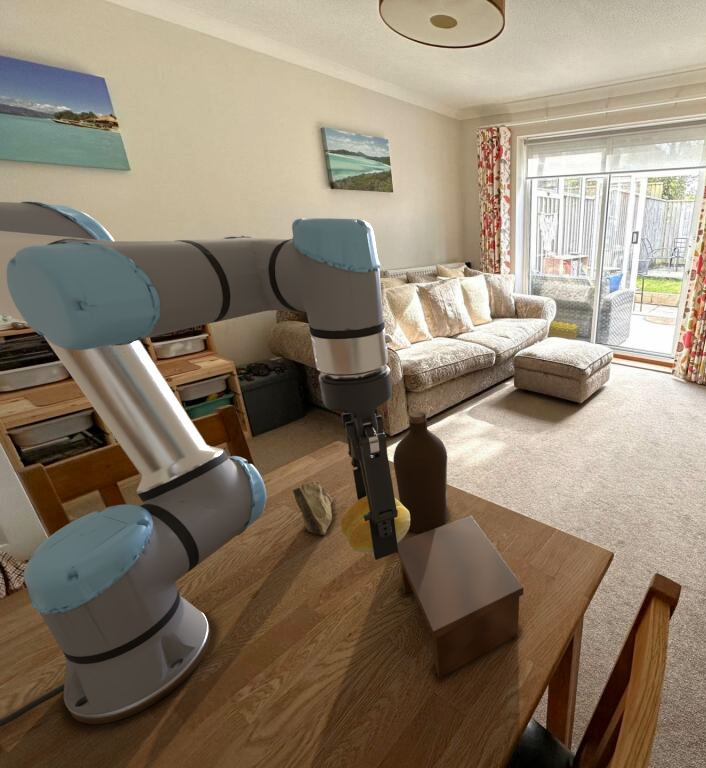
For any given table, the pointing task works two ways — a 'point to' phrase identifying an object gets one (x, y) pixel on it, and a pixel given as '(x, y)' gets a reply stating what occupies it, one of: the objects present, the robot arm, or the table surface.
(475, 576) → the block
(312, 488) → the rock
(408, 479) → the olive oil
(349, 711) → the table surface
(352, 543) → the bread roll
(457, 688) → the table surface
